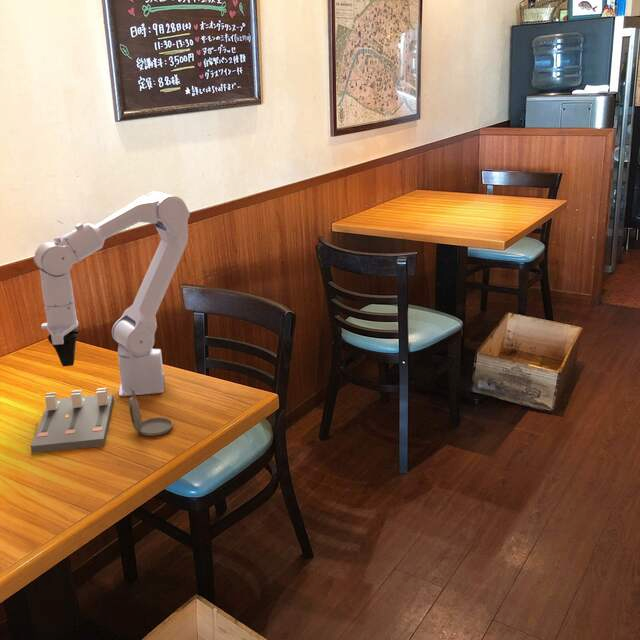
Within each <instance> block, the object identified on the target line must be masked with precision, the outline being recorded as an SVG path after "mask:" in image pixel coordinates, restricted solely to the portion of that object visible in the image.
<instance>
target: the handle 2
mask: <svg viewBox="0 0 640 640" xmlns="http://www.w3.org/2000/svg"><path fill="white" fill-rule="evenodd" d="M95 393H96V395H97V401H98V406H102V405H107V403H108V396H107V394H108V390H107V387H101V388H100V387H99V388H97V389H96V392H95Z"/></svg>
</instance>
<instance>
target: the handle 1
mask: <svg viewBox="0 0 640 640" xmlns="http://www.w3.org/2000/svg"><path fill="white" fill-rule="evenodd" d="M57 399H58V397H57V392H56V391H55V392H46V393H45V396H44V400H45V408H46V407H47V411H48V410H56V409H57V407H58V402H57Z"/></svg>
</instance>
